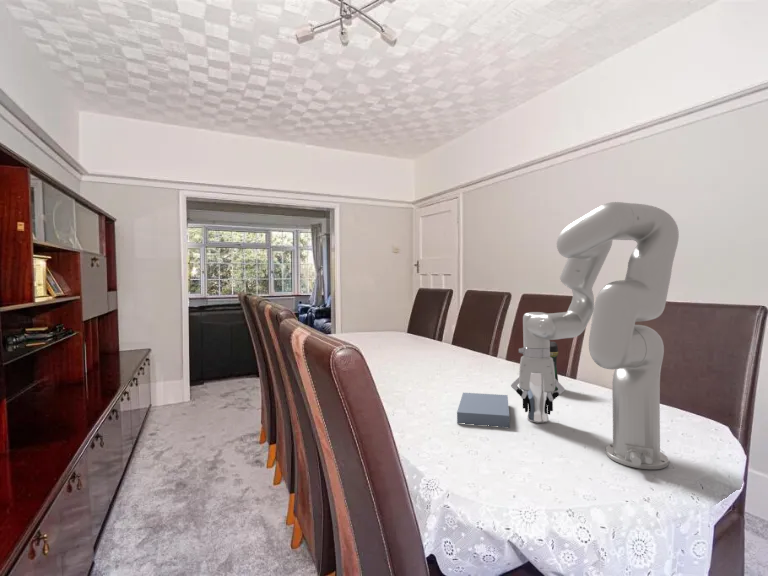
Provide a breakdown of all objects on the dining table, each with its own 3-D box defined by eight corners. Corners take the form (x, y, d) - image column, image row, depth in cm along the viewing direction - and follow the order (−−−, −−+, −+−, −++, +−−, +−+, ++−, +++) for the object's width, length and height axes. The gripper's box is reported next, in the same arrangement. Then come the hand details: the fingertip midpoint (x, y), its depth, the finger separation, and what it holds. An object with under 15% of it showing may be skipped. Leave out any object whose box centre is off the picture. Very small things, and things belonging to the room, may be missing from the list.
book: (509, 429, 117) (509, 415, 117) (457, 425, 121) (457, 412, 121) (507, 406, 138) (507, 395, 138) (463, 403, 143) (463, 392, 142)
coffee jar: (533, 390, 156) (533, 342, 156) (531, 385, 164) (530, 339, 163) (560, 391, 154) (560, 343, 154) (556, 386, 162) (555, 340, 161)
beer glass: (553, 419, 123) (553, 370, 123) (544, 425, 118) (544, 374, 118) (531, 414, 128) (530, 367, 128) (522, 420, 123) (521, 371, 123)
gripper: (505, 353, 123) (506, 412, 123) (567, 356, 116) (569, 419, 116) (508, 349, 130) (509, 405, 130) (567, 352, 123) (568, 411, 123)
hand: (537, 411), depth 123 cm, fingers closed on beer glass, 5 cm apart
